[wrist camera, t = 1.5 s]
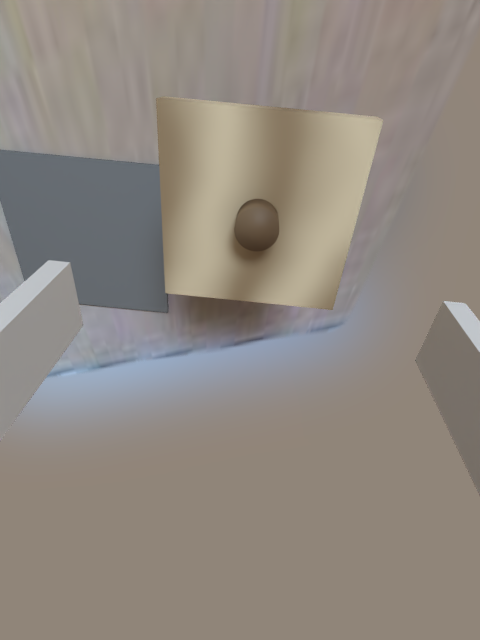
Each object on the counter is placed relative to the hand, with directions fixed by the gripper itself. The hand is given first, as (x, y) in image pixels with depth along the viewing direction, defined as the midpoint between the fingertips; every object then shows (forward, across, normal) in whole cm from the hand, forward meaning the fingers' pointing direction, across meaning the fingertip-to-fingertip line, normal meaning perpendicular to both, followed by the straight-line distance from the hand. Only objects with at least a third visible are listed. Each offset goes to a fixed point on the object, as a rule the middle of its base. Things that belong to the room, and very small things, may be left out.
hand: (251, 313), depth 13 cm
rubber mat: (+24, -17, -9) cm, 30 cm away
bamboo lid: (+11, 0, 0) cm, 11 cm away
